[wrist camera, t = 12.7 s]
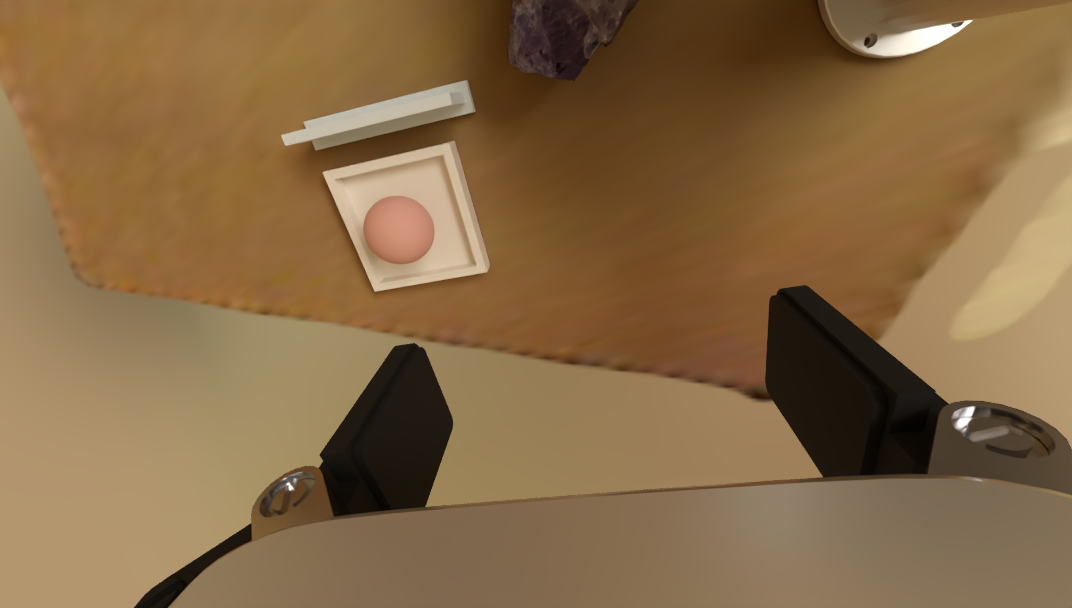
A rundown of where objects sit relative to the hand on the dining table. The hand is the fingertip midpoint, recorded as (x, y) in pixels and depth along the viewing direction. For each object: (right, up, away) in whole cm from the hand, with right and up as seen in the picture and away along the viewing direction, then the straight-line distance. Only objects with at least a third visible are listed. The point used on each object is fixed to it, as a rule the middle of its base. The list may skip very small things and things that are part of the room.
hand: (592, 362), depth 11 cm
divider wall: (-14, +18, +24) cm, 33 cm away
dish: (-13, +10, +28) cm, 33 cm away
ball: (-13, +10, +27) cm, 32 cm away
